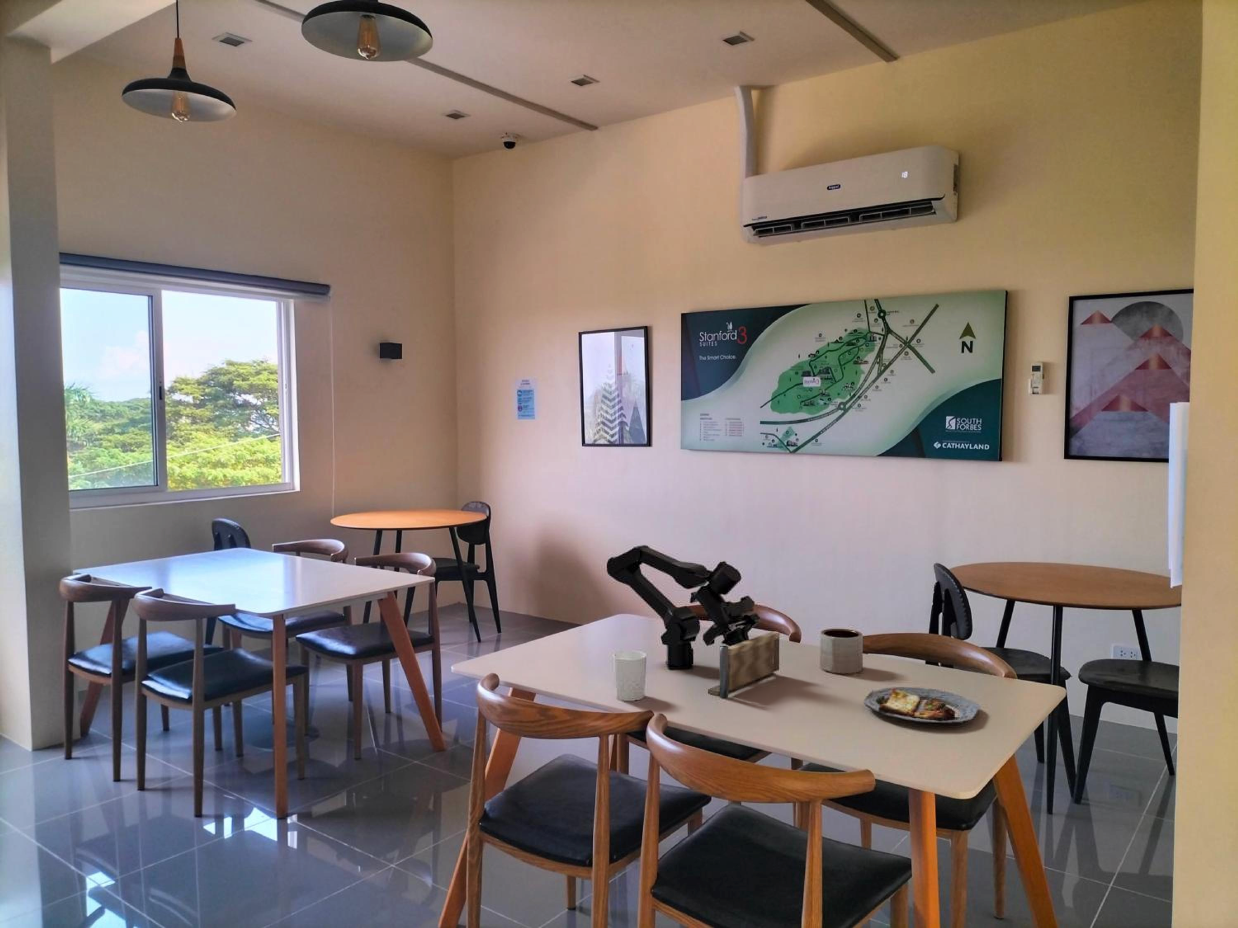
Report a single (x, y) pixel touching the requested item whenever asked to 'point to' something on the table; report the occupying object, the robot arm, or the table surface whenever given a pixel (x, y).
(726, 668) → the gate frame
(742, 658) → the gate leaf
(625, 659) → the white cup
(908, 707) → the food plate
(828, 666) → the planter
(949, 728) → the table surface
